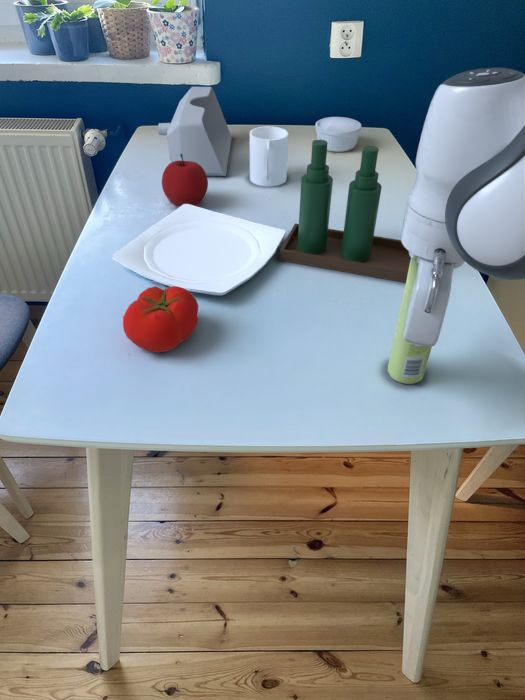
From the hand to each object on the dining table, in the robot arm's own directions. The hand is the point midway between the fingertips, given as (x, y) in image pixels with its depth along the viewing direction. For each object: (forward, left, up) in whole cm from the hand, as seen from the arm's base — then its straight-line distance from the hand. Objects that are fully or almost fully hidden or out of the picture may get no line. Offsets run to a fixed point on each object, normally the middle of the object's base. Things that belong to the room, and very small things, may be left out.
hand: (418, 326), depth 69 cm
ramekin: (+26, -78, -8) cm, 83 cm away
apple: (+49, -37, -8) cm, 62 cm away
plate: (+38, -19, -8) cm, 43 cm away
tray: (+12, -27, -8) cm, 31 cm away
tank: (+57, -60, -8) cm, 83 cm away
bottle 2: (+12, -27, -8) cm, 30 cm away
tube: (0, 0, -8) cm, 8 cm away
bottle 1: (+20, -27, -8) cm, 34 cm away
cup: (+36, -52, -8) cm, 64 cm away
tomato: (+35, +3, -8) cm, 36 cm away
